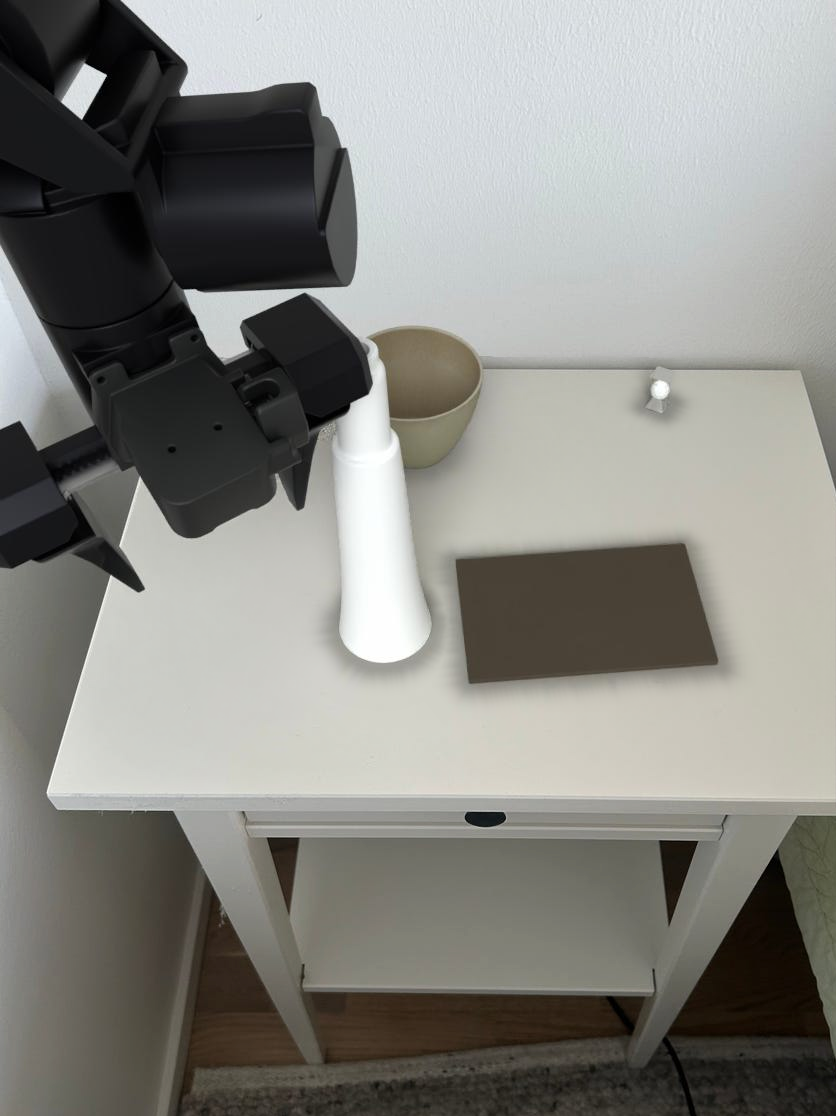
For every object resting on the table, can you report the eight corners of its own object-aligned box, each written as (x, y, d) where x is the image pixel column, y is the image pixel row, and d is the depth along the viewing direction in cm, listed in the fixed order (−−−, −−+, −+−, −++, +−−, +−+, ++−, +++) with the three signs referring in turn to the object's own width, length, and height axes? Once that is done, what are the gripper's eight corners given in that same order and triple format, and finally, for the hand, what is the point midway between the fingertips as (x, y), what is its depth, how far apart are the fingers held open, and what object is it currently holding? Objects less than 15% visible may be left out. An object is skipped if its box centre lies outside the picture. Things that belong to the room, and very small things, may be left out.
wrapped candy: (669, 402, 79) (676, 371, 76) (662, 413, 78) (668, 383, 76) (652, 396, 79) (657, 365, 77) (644, 407, 79) (650, 376, 76)
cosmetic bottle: (436, 658, 64) (424, 385, 47) (342, 669, 64) (293, 396, 46) (426, 586, 68) (411, 307, 50) (336, 595, 67) (289, 316, 50)
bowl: (323, 462, 75) (311, 386, 69) (397, 386, 80) (391, 309, 74) (437, 513, 72) (434, 438, 66) (506, 430, 77) (509, 354, 71)
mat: (469, 684, 63) (469, 680, 63) (455, 563, 69) (455, 559, 69) (717, 664, 64) (718, 661, 64) (683, 547, 70) (684, 543, 70)
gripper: (-75, 508, 33) (107, 745, 46) (407, 285, 38) (452, 555, 51) (-148, 342, 39) (31, 592, 52) (277, 168, 44) (346, 435, 57)
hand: (219, 544), depth 52 cm, fingers open, 9 cm apart
